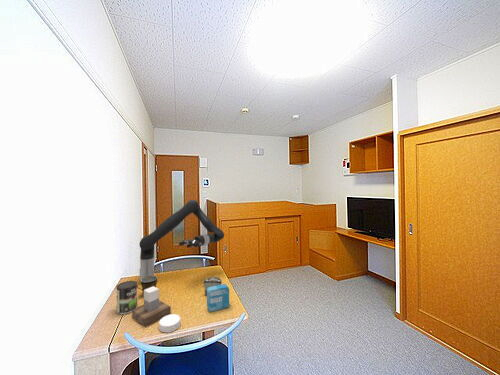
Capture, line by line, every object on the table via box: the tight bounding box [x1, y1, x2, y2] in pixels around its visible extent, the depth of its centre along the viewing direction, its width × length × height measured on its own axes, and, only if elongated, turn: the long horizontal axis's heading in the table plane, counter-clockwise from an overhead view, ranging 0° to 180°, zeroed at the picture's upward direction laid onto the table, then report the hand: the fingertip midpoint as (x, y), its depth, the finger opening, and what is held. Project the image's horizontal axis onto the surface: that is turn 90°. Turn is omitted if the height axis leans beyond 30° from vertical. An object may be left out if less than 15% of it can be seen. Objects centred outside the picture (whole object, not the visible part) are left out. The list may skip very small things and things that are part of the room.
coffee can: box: [115, 280, 138, 315], centre depth 123 cm, size 10×10×14 cm
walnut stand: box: [131, 299, 172, 328], centre depth 117 cm, size 14×14×4 cm
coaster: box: [158, 313, 182, 333], centre depth 108 cm, size 10×10×4 cm
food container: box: [202, 276, 223, 297], centre depth 140 cm, size 12×6×10 cm, turn 84°
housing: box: [143, 286, 160, 312], centre depth 117 cm, size 6×6×10 cm
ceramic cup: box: [137, 275, 158, 296], centre depth 139 cm, size 13×10×10 cm
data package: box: [206, 283, 230, 313], centre depth 123 cm, size 12×4×12 cm, turn 115°
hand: (183, 245), depth 146 cm, fingers open, 8 cm apart
